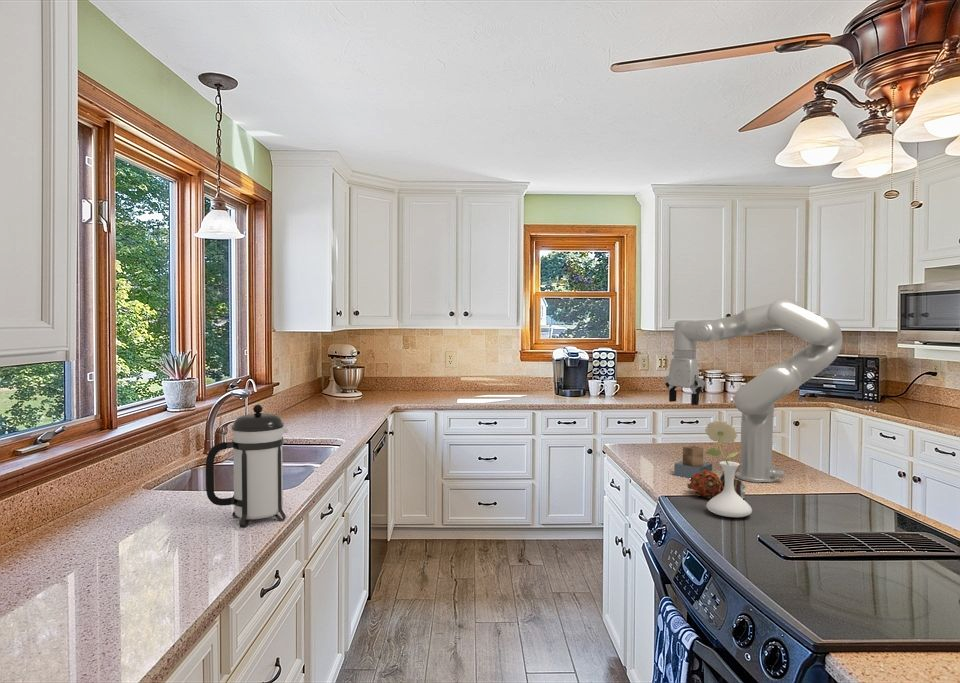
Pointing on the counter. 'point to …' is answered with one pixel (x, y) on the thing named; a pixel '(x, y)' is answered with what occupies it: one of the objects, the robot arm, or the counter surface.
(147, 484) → the counter surface
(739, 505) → the flower in vase
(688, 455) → the block
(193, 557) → the counter surface
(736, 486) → the chocolate cake
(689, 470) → the gray rectangular block
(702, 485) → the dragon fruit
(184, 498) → the counter surface
